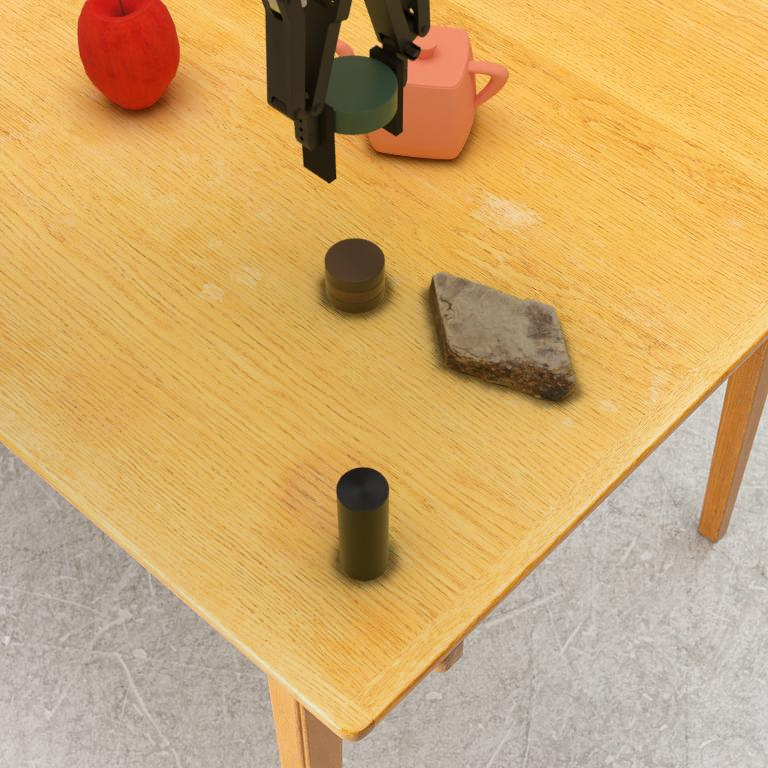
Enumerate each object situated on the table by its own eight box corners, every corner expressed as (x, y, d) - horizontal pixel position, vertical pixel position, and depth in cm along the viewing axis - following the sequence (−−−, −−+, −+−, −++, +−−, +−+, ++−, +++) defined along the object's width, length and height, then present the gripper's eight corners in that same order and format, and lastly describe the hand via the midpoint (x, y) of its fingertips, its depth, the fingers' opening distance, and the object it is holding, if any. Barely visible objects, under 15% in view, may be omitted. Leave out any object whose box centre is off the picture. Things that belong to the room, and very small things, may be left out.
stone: (594, 337, 101) (600, 314, 98) (566, 409, 96) (571, 387, 94) (433, 288, 104) (434, 264, 102) (398, 355, 99) (398, 332, 97)
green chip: (312, 139, 82) (311, 116, 81) (304, 81, 86) (303, 58, 84) (403, 131, 83) (403, 108, 81) (391, 74, 86) (391, 51, 85)
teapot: (497, 174, 113) (506, 87, 105) (313, 154, 115) (308, 67, 106) (507, 98, 120) (517, 11, 112) (334, 81, 122) (331, -7, 113)
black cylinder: (343, 584, 86) (339, 514, 78) (337, 542, 88) (333, 469, 81) (391, 579, 87) (392, 508, 79) (384, 536, 89) (385, 464, 81)
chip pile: (351, 323, 102) (350, 291, 98) (314, 289, 104) (312, 256, 101) (396, 295, 104) (397, 262, 100) (359, 261, 106) (359, 229, 103)
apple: (208, 100, 120) (193, -3, 110) (128, 144, 116) (105, 40, 106) (151, 55, 124) (132, -49, 114) (72, 95, 120) (45, -9, 110)
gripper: (268, -58, 63) (294, 241, 82) (499, -188, 72) (476, 110, 90) (178, -110, 67) (223, 190, 85) (410, -228, 75) (405, 67, 93)
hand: (353, 148), depth 88 cm, fingers closed on green chip, 6 cm apart
